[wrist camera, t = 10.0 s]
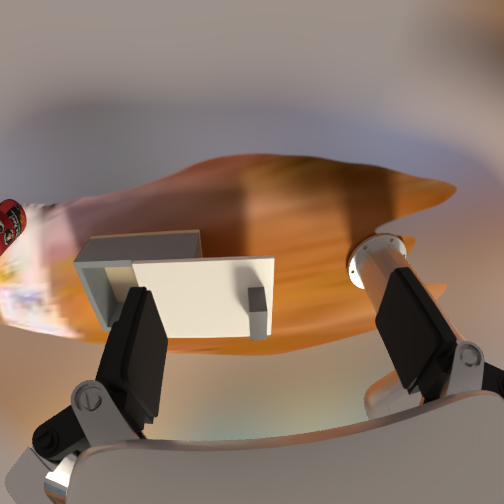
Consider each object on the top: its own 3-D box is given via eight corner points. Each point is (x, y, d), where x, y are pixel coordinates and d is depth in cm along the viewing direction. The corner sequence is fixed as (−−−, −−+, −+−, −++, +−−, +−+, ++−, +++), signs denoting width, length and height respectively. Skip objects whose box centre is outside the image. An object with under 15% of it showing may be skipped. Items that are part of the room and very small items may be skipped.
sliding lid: (273, 254, 40) (279, 281, 35) (270, 331, 49) (273, 358, 44) (133, 260, 39) (122, 286, 34) (157, 334, 48) (151, 360, 43)
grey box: (199, 229, 46) (194, 257, 40) (209, 301, 55) (206, 333, 49) (91, 236, 46) (73, 262, 39) (115, 302, 54) (104, 331, 48)
